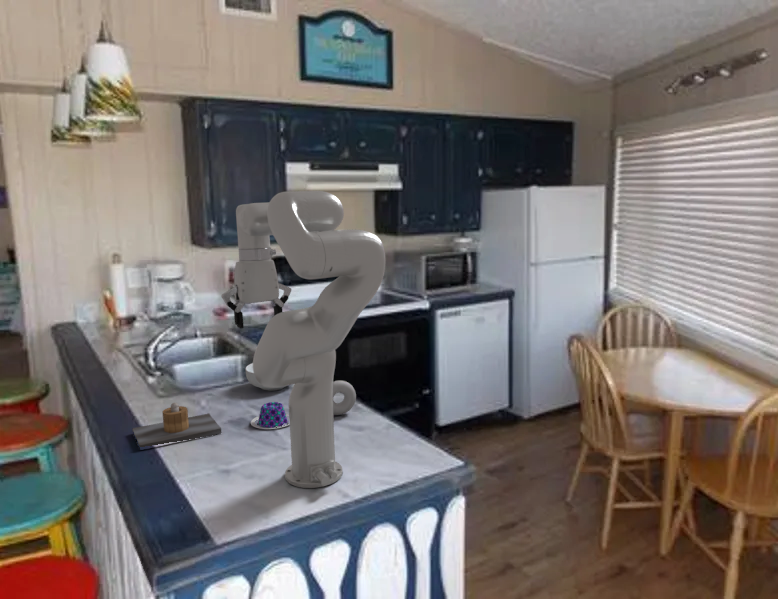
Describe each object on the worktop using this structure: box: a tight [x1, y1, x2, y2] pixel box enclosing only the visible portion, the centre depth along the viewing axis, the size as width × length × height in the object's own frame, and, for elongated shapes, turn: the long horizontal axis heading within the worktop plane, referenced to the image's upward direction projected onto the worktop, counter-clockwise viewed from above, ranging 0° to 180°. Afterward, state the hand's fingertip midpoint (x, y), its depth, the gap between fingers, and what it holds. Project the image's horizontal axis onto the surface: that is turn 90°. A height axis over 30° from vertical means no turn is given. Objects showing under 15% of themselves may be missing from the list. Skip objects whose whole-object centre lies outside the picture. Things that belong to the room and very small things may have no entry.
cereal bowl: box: [245, 362, 286, 391], centre depth 198 cm, size 17×17×7 cm
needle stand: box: [132, 402, 223, 447], centre depth 160 cm, size 13×20×8 cm, turn 120°
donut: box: [333, 380, 357, 416], centre depth 171 cm, size 10×4×10 cm, turn 111°
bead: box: [162, 405, 189, 433], centre depth 160 cm, size 6×6×5 cm
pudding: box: [250, 401, 290, 430], centre depth 167 cm, size 12×12×5 cm
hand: (259, 324), depth 150 cm, fingers open, 9 cm apart
